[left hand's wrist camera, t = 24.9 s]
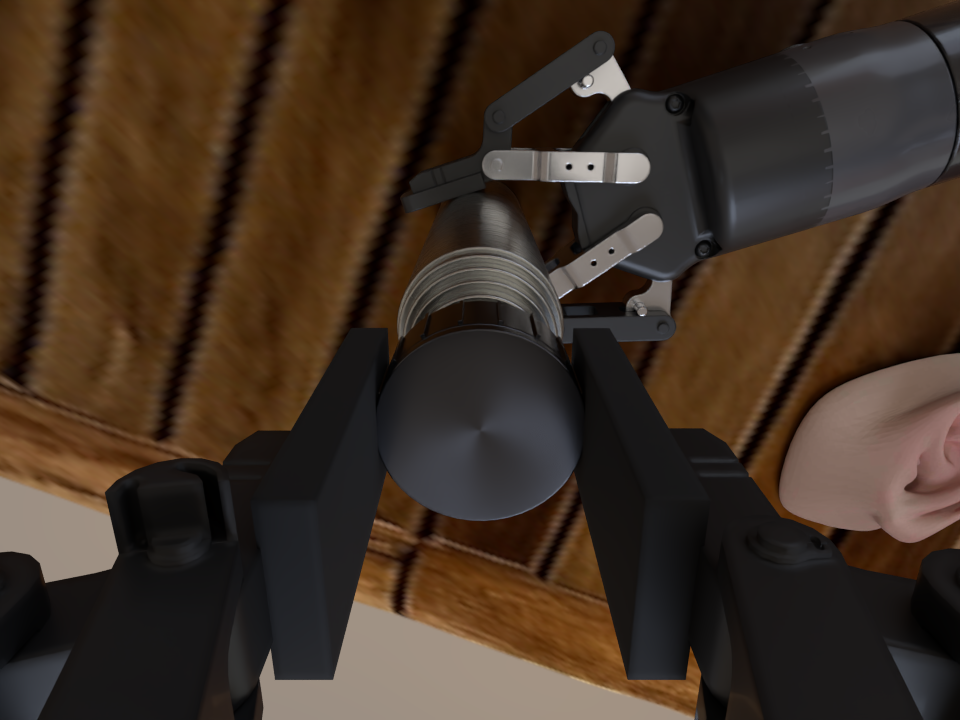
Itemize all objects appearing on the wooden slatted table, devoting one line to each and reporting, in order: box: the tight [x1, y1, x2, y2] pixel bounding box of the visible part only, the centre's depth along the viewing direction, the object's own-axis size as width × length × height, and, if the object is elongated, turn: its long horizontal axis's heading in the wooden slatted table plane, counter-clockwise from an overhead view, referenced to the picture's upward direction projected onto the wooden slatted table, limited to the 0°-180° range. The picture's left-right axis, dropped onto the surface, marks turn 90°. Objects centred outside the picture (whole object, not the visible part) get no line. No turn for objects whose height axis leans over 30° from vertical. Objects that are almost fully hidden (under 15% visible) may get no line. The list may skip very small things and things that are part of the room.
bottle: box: [397, 180, 564, 341], centre depth 25 cm, size 4×4×24 cm
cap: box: [376, 300, 585, 521], centre depth 13 cm, size 4×4×2 cm
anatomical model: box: [779, 353, 960, 543], centre depth 39 cm, size 13×4×12 cm
